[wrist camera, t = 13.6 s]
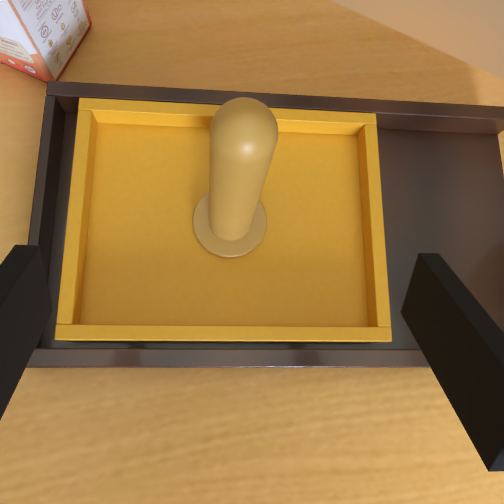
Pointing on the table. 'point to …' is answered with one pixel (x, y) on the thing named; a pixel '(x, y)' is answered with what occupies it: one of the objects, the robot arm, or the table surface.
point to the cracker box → (41, 34)
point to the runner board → (394, 216)
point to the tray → (189, 284)
